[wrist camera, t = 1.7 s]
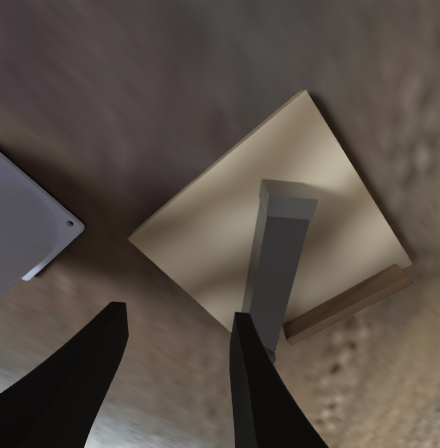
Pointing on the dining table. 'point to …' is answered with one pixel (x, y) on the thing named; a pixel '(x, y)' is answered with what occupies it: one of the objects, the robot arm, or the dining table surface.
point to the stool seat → (247, 216)
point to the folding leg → (276, 255)
